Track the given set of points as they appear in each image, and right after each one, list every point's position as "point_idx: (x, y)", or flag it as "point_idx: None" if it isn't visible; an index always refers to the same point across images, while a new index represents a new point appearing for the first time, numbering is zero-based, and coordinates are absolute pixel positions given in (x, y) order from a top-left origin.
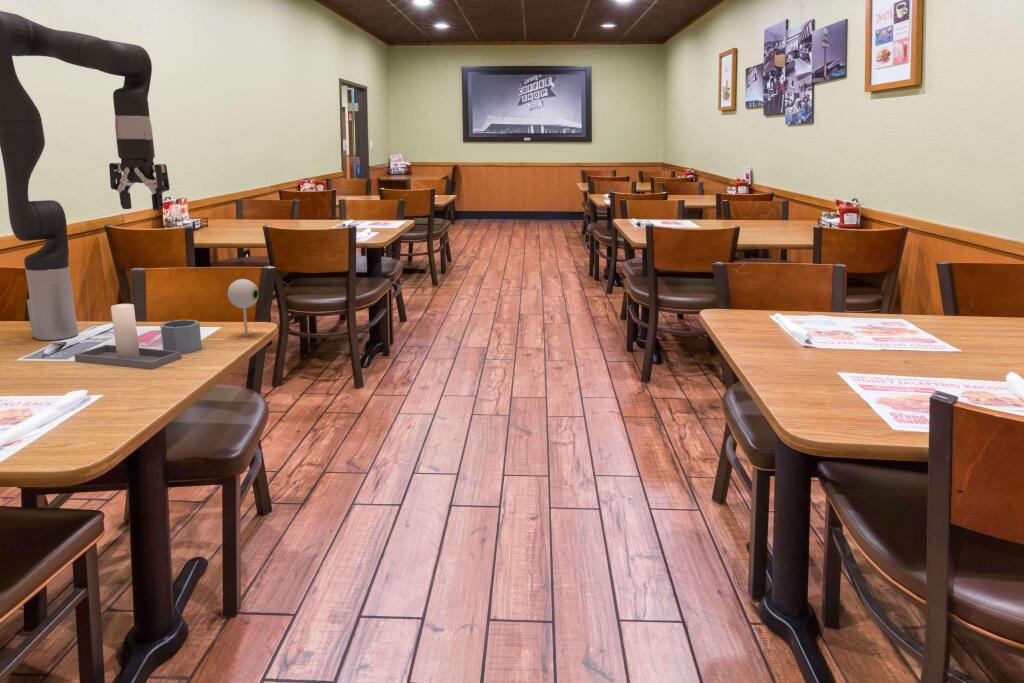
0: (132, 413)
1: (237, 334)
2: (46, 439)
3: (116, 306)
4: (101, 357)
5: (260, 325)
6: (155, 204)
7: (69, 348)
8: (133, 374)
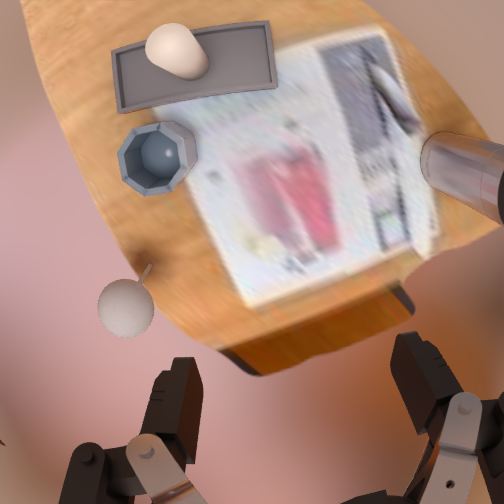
0: None
1: (187, 282)
2: None
3: (175, 34)
4: (209, 27)
5: (201, 334)
6: (170, 383)
7: (372, 102)
8: (142, 36)
